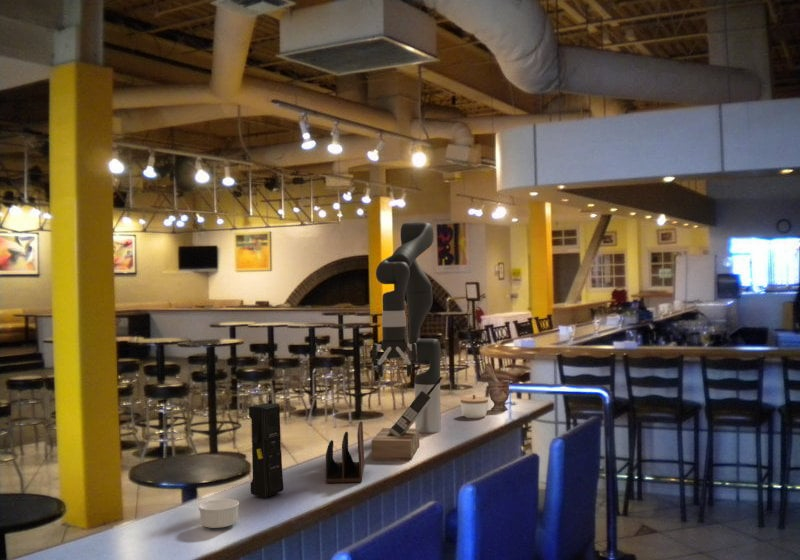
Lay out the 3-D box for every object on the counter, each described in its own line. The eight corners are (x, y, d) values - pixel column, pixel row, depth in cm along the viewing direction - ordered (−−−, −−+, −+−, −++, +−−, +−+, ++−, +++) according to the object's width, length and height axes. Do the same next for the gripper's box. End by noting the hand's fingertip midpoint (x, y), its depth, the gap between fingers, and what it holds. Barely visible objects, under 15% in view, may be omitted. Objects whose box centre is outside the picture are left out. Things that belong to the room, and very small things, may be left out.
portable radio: (265, 498, 194) (264, 398, 195) (247, 496, 197) (245, 397, 198) (285, 491, 201) (283, 394, 201) (266, 488, 204) (265, 393, 204)
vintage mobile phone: (388, 430, 243) (437, 370, 251) (389, 434, 247) (437, 375, 255) (397, 438, 242) (446, 377, 250) (398, 441, 246) (446, 382, 254)
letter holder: (364, 465, 229) (363, 418, 229) (362, 482, 209) (361, 430, 210) (330, 466, 229) (330, 418, 229) (325, 483, 209) (324, 431, 209)
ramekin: (192, 528, 172) (191, 508, 172) (209, 516, 180) (209, 497, 180) (229, 530, 170) (229, 510, 170) (245, 518, 179) (245, 499, 179)
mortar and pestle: (478, 412, 320) (477, 364, 321) (488, 409, 327) (487, 362, 328) (503, 414, 314) (502, 365, 314) (513, 411, 321) (512, 363, 321)
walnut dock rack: (383, 446, 256) (382, 428, 256) (419, 446, 254) (419, 428, 254) (371, 460, 236) (371, 440, 236) (411, 460, 234) (410, 440, 234)
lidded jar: (474, 415, 314) (474, 392, 314) (493, 418, 305) (493, 394, 305) (455, 418, 307) (454, 395, 307) (474, 422, 298) (473, 397, 299)
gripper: (417, 324, 248) (418, 375, 248) (374, 324, 250) (374, 375, 250) (414, 325, 240) (415, 378, 240) (369, 326, 243) (370, 378, 242)
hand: (395, 376), depth 245 cm, fingers open, 8 cm apart
